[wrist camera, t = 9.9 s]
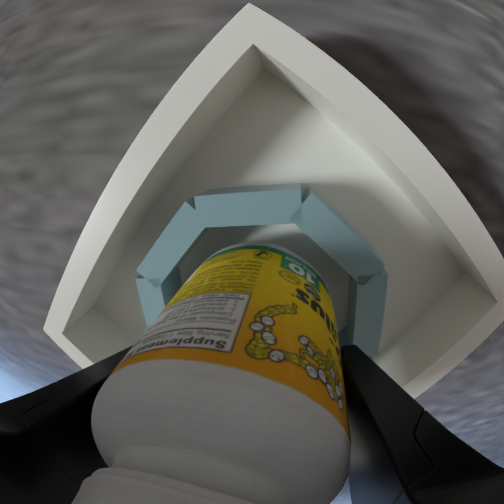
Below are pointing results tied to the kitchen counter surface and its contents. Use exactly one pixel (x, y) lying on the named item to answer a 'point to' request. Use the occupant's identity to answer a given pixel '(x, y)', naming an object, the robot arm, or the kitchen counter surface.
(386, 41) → the kitchen counter surface
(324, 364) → the supplement bottle
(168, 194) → the socket box
